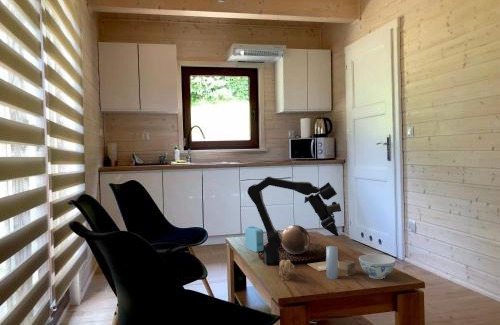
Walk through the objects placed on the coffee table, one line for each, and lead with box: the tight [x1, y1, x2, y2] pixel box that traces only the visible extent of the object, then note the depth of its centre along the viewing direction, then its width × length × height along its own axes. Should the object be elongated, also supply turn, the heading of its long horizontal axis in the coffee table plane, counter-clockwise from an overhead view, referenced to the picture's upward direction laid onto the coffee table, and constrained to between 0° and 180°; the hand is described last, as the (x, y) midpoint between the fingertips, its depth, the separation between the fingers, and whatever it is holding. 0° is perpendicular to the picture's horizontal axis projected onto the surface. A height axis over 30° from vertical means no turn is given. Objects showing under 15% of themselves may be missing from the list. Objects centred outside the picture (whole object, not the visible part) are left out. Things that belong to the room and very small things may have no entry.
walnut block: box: [338, 259, 357, 277], centre depth 185 cm, size 5×5×5 cm
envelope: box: [307, 260, 341, 272], centre depth 196 cm, size 16×12×1 cm
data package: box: [244, 225, 265, 253], centre depth 228 cm, size 12×4×12 cm, turn 31°
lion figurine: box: [278, 259, 295, 281], centre depth 181 cm, size 15×5×9 cm, turn 13°
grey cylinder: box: [325, 245, 339, 280], centre depth 179 cm, size 5×5×13 cm
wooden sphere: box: [280, 224, 311, 255], centre depth 218 cm, size 15×15×15 cm
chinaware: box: [358, 253, 397, 280], centre depth 179 cm, size 15×15×8 cm
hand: (337, 233), depth 196 cm, fingers open, 9 cm apart
